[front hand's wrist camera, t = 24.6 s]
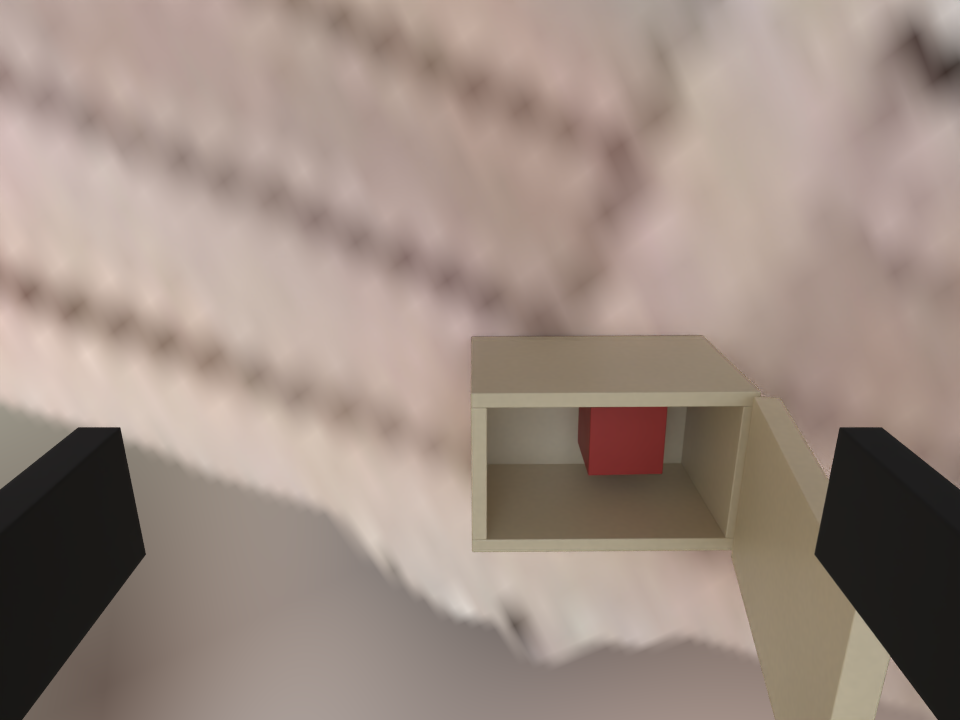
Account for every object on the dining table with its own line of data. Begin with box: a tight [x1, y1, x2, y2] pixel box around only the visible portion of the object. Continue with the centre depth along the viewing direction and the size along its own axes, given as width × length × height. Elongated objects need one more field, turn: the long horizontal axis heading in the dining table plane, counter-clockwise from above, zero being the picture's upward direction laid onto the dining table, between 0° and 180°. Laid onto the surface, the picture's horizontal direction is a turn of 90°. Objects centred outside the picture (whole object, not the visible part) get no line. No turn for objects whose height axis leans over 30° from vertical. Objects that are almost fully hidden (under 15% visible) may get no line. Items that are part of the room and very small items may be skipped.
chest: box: [471, 336, 761, 552], centre depth 42 cm, size 15×10×10 cm, turn 90°
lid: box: [731, 397, 890, 720], centre depth 29 cm, size 16×10×8 cm
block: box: [578, 407, 668, 475], centre depth 44 cm, size 5×5×5 cm
